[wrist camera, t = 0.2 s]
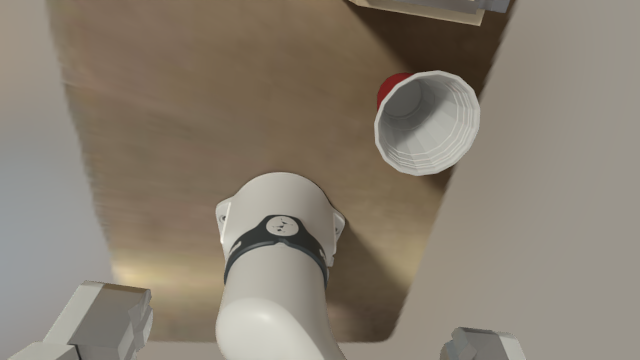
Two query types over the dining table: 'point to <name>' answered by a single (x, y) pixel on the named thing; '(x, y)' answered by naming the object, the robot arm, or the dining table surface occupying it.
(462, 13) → the zigzag stepped block
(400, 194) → the dining table surface
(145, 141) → the dining table surface
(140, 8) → the dining table surface
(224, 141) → the dining table surface
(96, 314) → the robot arm
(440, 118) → the plastic cup
